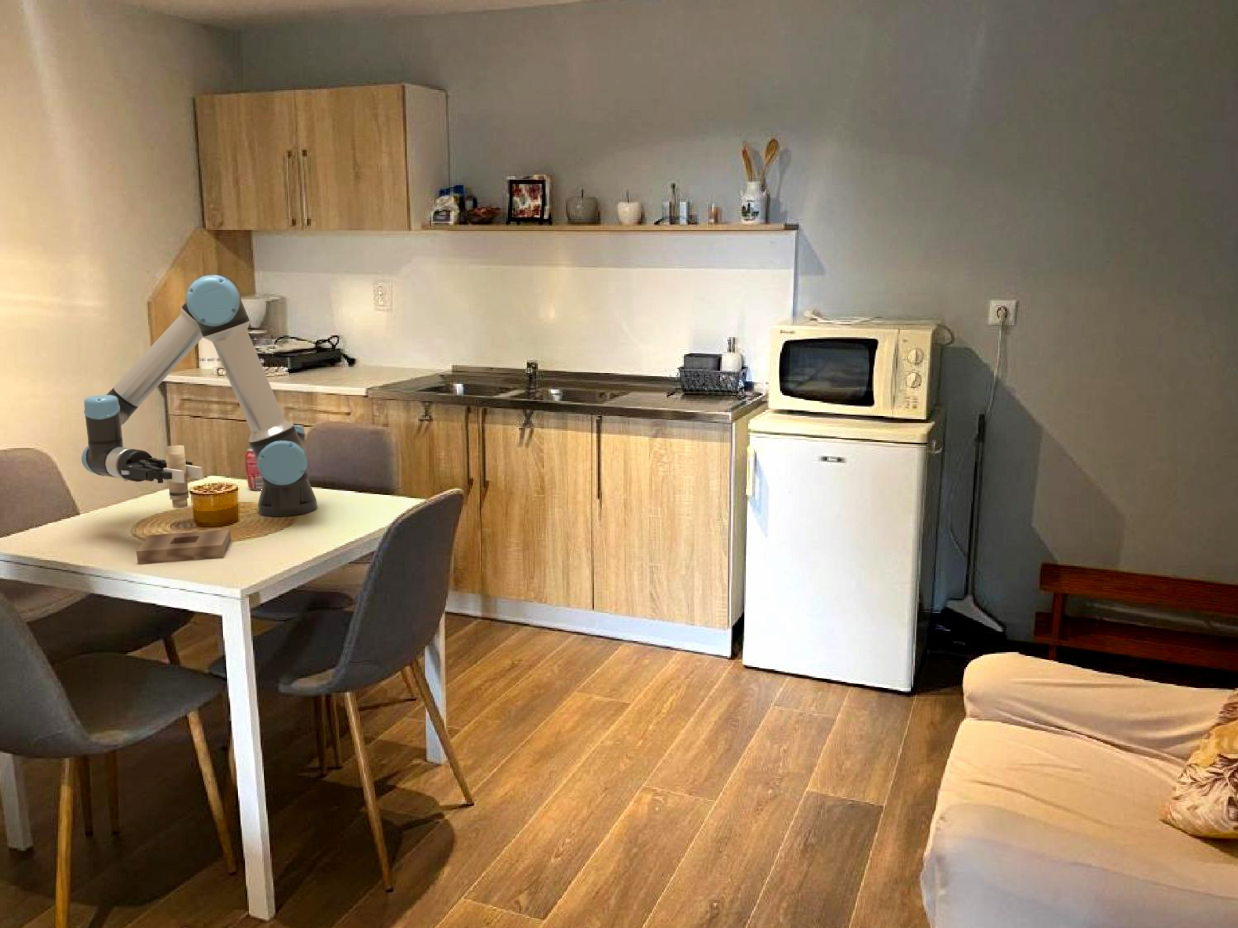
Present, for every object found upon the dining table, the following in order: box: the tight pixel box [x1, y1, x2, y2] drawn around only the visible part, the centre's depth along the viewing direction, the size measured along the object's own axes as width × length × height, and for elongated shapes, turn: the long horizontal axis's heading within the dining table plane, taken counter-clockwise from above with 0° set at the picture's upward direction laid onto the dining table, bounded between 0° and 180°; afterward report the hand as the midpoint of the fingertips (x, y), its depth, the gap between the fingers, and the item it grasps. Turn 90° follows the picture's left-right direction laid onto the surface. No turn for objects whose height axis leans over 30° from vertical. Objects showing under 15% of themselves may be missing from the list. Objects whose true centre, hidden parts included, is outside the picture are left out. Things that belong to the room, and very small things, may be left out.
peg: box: [164, 444, 190, 509], centre depth 237 cm, size 4×4×14 cm
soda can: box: [244, 447, 263, 491], centre depth 304 cm, size 7×7×12 cm
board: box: [136, 529, 232, 565], centre depth 240 cm, size 18×14×3 cm
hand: (191, 475), depth 233 cm, fingers closed on peg, 4 cm apart
